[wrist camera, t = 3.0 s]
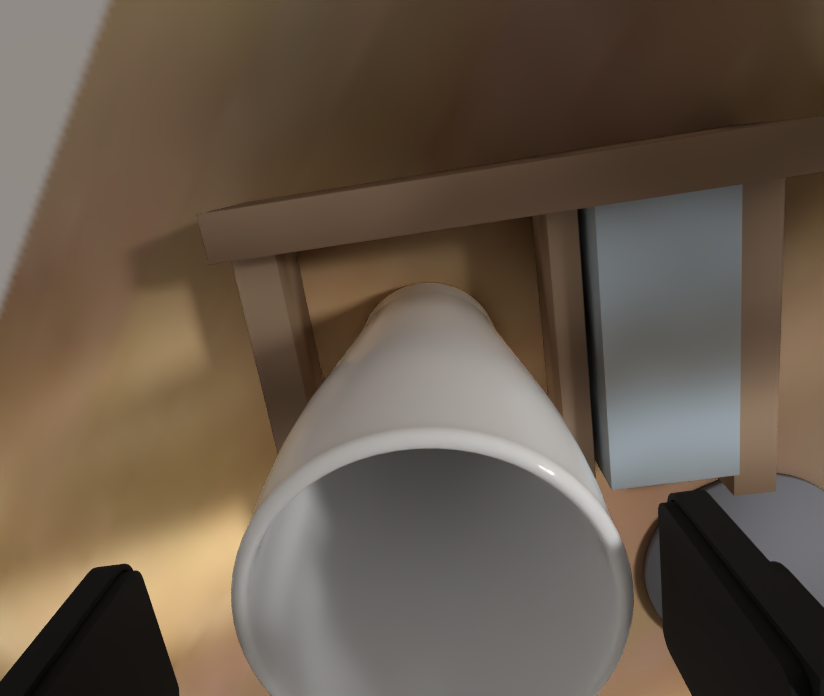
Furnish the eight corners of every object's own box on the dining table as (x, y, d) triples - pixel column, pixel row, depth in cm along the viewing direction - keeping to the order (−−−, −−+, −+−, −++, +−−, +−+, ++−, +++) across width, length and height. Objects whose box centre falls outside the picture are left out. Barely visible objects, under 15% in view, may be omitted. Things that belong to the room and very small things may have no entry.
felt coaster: (639, 486, 26) (643, 490, 25) (859, 459, 25) (866, 464, 25) (647, 654, 28) (650, 660, 28) (846, 634, 28) (852, 640, 27)
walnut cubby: (245, 202, 23) (196, 214, 18) (738, 125, 21) (828, 115, 17) (314, 504, 26) (289, 580, 22) (736, 453, 25) (808, 522, 20)
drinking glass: (530, 400, 25) (672, 734, 10) (372, 439, 25) (301, 803, 11) (491, 239, 23) (599, 377, 8) (322, 286, 23) (156, 487, 9)
